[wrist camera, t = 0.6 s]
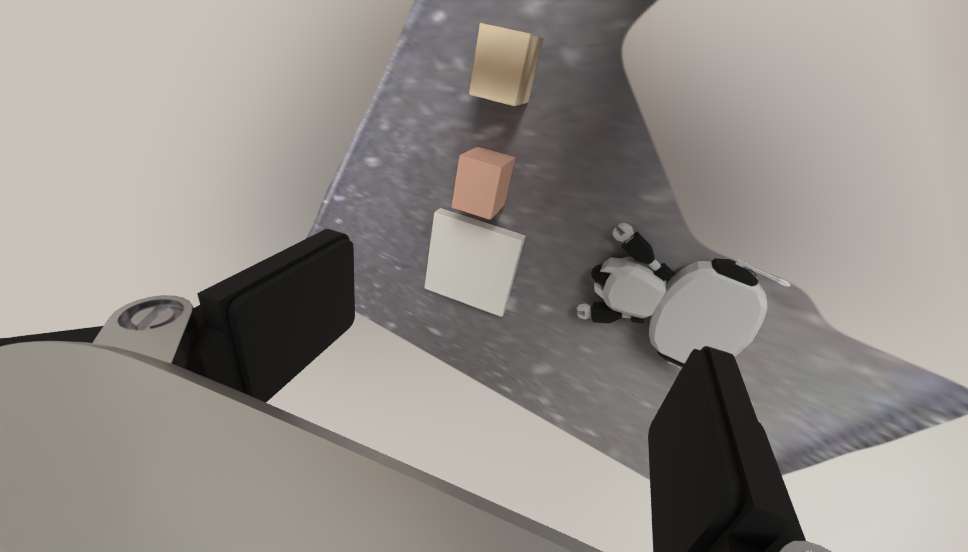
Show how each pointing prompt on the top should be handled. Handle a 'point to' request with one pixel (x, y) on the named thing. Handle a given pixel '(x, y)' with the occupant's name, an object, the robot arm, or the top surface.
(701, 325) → the robot toy
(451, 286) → the base plate
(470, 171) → the clay brick
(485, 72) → the beech brick
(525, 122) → the top surface
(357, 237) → the top surface
